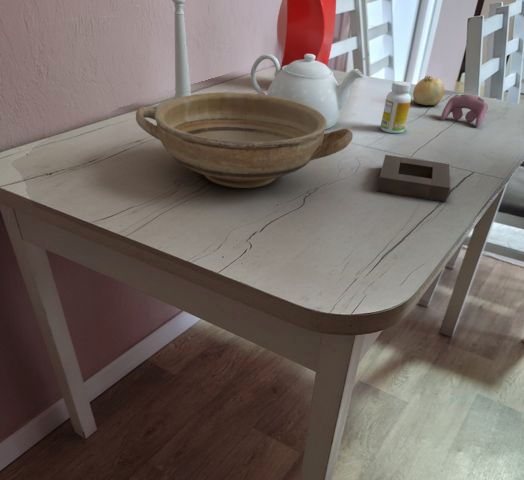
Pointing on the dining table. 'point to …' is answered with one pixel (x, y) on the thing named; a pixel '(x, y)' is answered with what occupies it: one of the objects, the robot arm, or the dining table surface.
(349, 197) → the dining table surface
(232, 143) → the ceramic bowl
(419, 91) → the onion
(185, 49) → the candlestick
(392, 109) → the supplement bottle
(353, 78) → the teapot
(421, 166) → the socket
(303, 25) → the vase
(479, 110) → the video game controller
